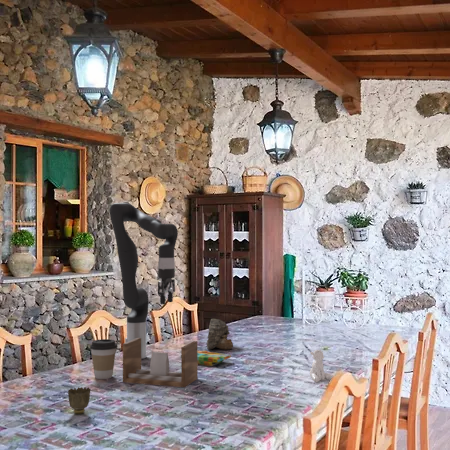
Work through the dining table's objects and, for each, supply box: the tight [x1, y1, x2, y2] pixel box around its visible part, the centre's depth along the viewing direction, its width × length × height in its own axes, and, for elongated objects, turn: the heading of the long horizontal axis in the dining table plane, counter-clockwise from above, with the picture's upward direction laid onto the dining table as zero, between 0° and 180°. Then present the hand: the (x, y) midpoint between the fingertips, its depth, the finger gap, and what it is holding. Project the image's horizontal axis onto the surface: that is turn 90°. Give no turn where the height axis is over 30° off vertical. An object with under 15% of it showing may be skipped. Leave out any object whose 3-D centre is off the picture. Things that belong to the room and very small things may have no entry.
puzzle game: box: [197, 349, 232, 367], centre depth 282 cm, size 12×5×20 cm
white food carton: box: [149, 351, 170, 376], centre depth 248 cm, size 4×7×10 cm, turn 73°
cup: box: [67, 386, 91, 415], centre depth 205 cm, size 8×7×8 cm
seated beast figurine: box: [309, 349, 334, 383], centre depth 251 cm, size 10×9×12 cm
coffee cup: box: [89, 338, 118, 380], centre depth 255 cm, size 11×11×15 cm
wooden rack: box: [122, 338, 199, 388], centre depth 249 cm, size 27×14×16 cm, turn 72°
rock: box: [206, 318, 234, 351], centre depth 316 cm, size 18×14×15 cm
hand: (166, 303), depth 277 cm, fingers open, 8 cm apart
